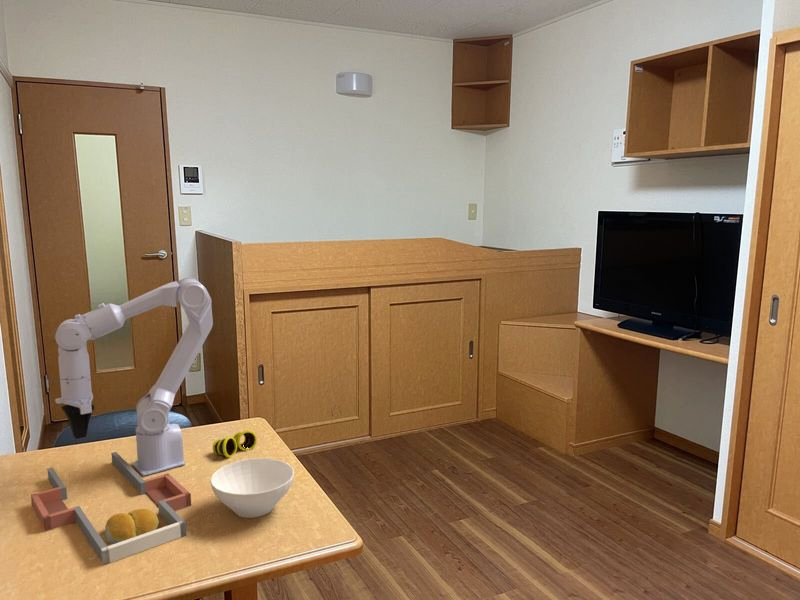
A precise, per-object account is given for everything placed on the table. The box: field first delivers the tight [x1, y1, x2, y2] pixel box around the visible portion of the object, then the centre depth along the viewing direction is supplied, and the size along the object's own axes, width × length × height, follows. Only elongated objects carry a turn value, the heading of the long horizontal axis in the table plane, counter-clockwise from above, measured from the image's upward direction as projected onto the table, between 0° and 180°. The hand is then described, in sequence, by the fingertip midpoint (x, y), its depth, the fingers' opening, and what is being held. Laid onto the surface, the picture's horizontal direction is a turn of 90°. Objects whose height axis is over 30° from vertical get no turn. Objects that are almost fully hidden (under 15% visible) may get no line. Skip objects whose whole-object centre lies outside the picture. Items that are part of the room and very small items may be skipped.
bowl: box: [210, 457, 295, 519], centre depth 118 cm, size 16×16×7 cm
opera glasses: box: [212, 429, 258, 459], centre depth 145 cm, size 10×5×5 cm, turn 142°
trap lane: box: [30, 451, 192, 566], centre depth 119 cm, size 24×41×2 cm, turn 41°
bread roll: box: [104, 508, 160, 545], centre depth 110 cm, size 8×9×4 cm
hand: (80, 437), depth 129 cm, fingers closed
